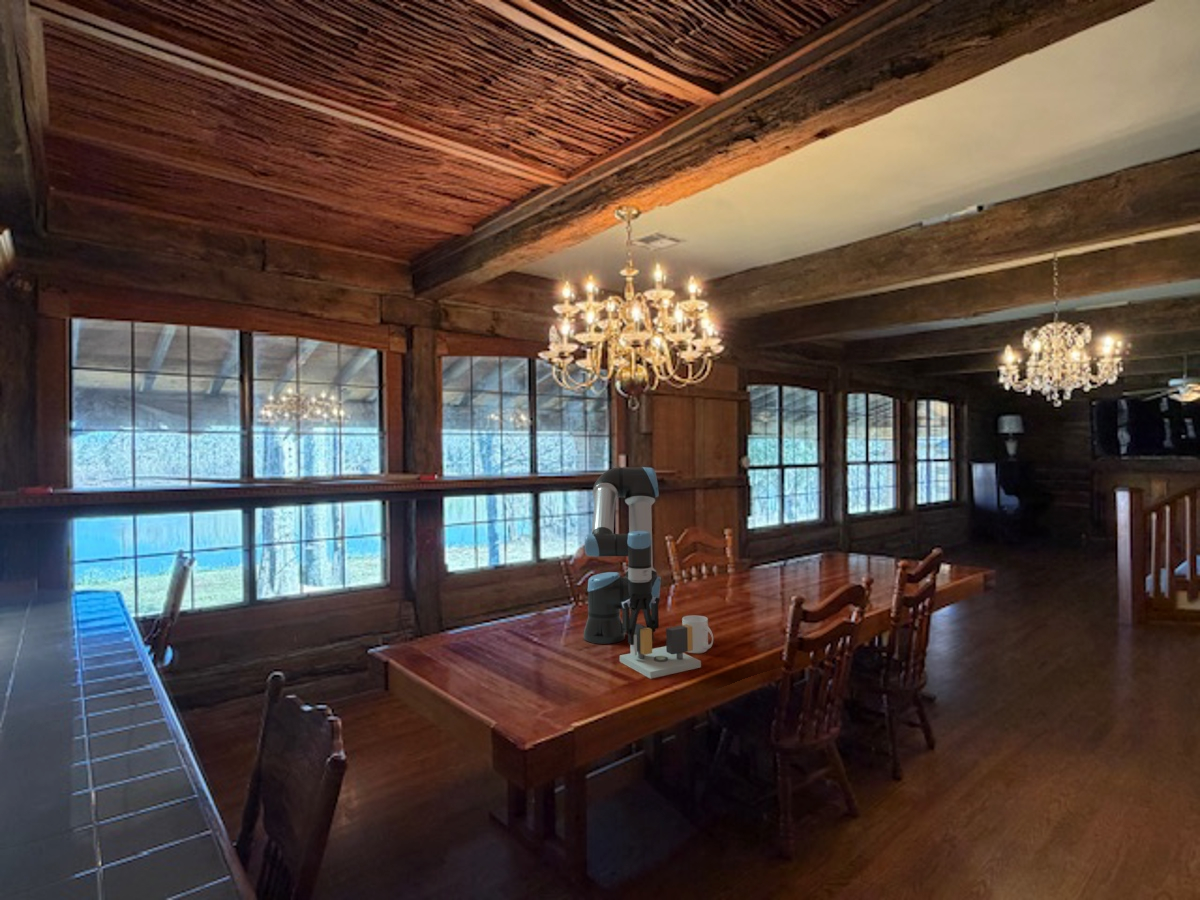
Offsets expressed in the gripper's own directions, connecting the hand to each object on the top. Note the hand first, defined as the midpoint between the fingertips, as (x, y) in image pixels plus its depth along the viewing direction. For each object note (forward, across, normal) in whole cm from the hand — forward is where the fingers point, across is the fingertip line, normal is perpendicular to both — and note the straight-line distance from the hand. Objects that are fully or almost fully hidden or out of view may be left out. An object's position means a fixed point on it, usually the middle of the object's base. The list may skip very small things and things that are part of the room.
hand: (641, 652), depth 203 cm
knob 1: (+2, 0, 0) cm, 2 cm away
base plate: (+4, +5, -3) cm, 7 cm away
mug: (+4, +24, +1) cm, 24 cm away
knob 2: (+2, +10, -7) cm, 12 cm away
